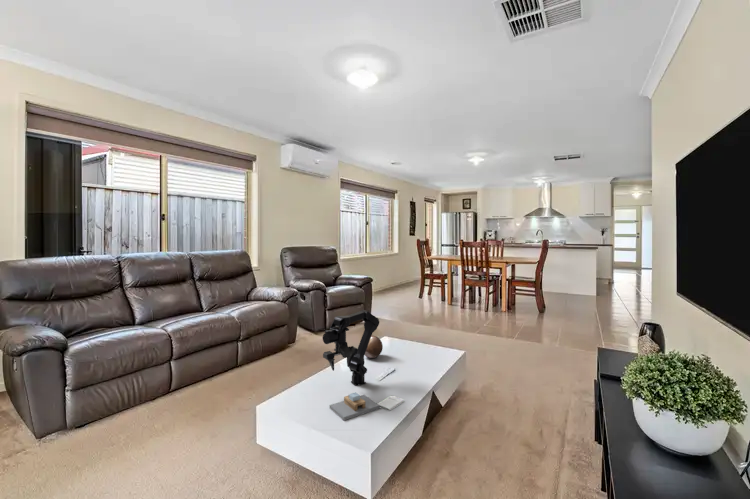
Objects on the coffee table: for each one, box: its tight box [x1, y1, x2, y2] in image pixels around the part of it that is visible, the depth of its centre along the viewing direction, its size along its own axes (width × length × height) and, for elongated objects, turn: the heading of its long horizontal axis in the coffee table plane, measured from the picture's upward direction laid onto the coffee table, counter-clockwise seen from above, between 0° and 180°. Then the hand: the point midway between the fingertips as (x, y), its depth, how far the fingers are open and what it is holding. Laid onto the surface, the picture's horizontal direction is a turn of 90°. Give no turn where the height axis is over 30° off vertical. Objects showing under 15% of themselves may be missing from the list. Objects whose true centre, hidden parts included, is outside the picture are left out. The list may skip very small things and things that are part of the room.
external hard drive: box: [377, 395, 405, 412], centre depth 172 cm, size 2×8×12 cm
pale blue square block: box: [348, 392, 361, 401], centre depth 167 cm, size 4×4×2 cm
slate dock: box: [329, 394, 381, 421], centre depth 167 cm, size 20×14×2 cm
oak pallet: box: [343, 394, 365, 411], centre depth 167 cm, size 6×10×3 cm, turn 34°
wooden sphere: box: [364, 335, 383, 359], centre depth 239 cm, size 15×15×15 cm
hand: (340, 368), depth 186 cm, fingers open, 9 cm apart
